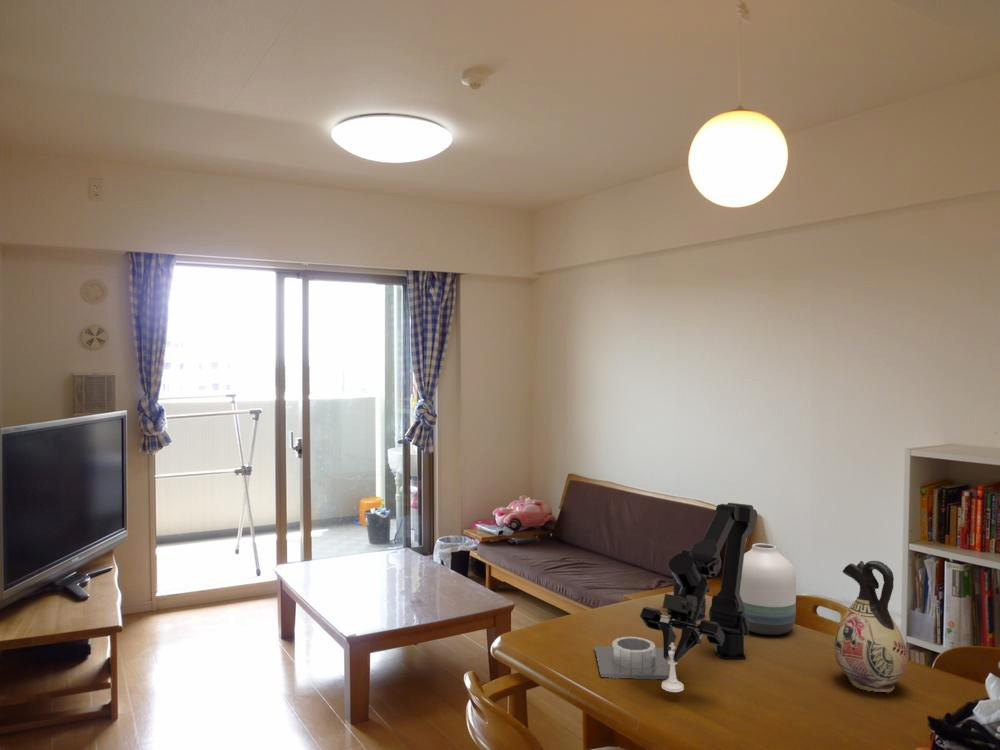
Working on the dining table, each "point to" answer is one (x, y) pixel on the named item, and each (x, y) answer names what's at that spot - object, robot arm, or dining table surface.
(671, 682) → the chess piece
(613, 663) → the duct collar
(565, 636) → the dining table surface
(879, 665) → the ceramic jug
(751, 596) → the vase
